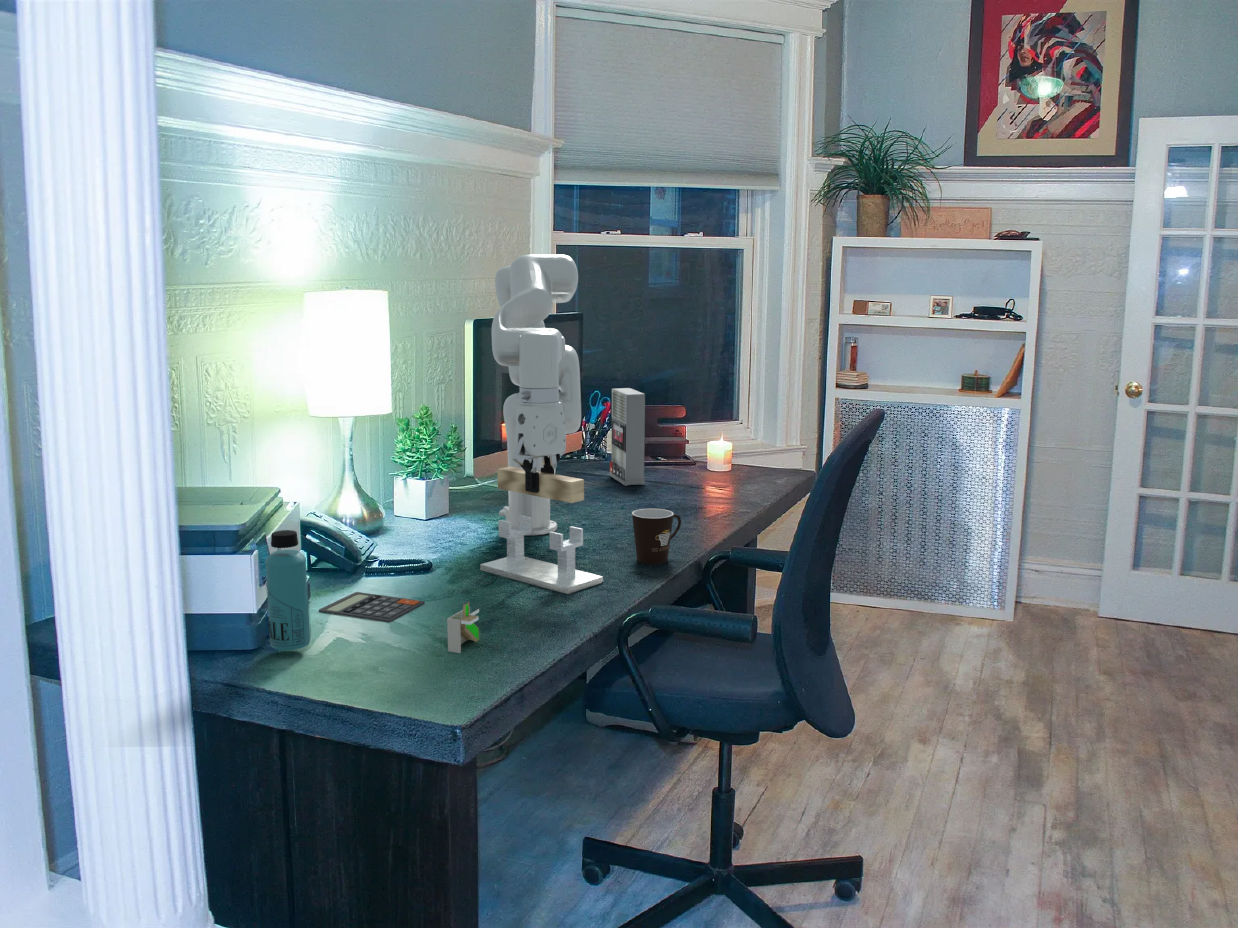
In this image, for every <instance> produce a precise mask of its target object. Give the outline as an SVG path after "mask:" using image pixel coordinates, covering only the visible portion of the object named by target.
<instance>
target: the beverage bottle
mask: <svg viewBox="0 0 1238 928" xmlns="http://www.w3.org/2000/svg"><path fill="white" fill-rule="evenodd" d="M270 537H271V538H270V539H271V540H270V547H272V548H276V549H281V550H276V551H273V552H272V553H270V554H269V556H268V557H266V559H265V560H264V564H265V571H266V572H265V573H266V574H265V575H266V581H265V586H266V587H265V588H266V589H265V590H266V597H267V614H268V617H267V622H268V623H267V627H268V635H269V638H268V639H269V644H270V646H271V648H273V649H275V650H279V651H293V650H299V649H303V648H306V647H307V646H308V645H309V644H310V641H311V637H312V636H311V635H312V633H311V632H312V628H311V624H310V623H311V620H310V619H311V618H310V617H311V615H310V612H311V610H310V606H309V597H308V582H307V581H308V579H307V576H308V575H307V558H306V556H305V555H304V554H303V553H302V552H300V551H299V550H296V549H289V548H294V547H296V546H298V545H299V538H298V533H297V531H295V530H290V529H283V530H276V531H274V532H272V533H271V536H270ZM286 548H287V549H286Z"/></svg>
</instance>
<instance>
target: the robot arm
mask: <svg viewBox="0 0 1238 928" xmlns="http://www.w3.org/2000/svg"><path fill="white" fill-rule="evenodd" d="M578 283H579V271H578V267H577V265H576V262H575V260H574V259H573V258H572V257H571V256H570V255H566V254H561V253H560V254H556V253H555V254H551V253H550V254H541V253H540V254H538V253H537V254H536V253H531V254H524V255H520V256H518V257H516V258H515V259H514V260H513V261H512V262H511V264H510V265H506V266H502V267H500V268H499V269H498V270H497V271H496V273H495V277H494V284H495V285H494V286H495V294H496V298H497V302H498V305H499V307H500V308H499V309H498V310H497V311H496V313H495V314H494V317H493V319H492V323H491V347H492V348H491V350H492V356H493V358H494V360H495V361H496V363H497V364H499V365H500V366H503V367H508V374H509V375H508V376H509V379H510V381H511V382H512V384H514V385H516V386H518V387H519V392H518V393H517V392H515V393H513V394H511V395H509V396H507V398H506V399H505V401H504V404H503V407H502V408H503V409H502V411H503V412H502V413H503V421H504V426H505V433H506V435H505V436H506V442H507V443H506V446H507V467H510V466H511V467H516V468H522V469H523V471H525V490H526V491H528V492H533V493H538V492H539V472H544V473H550V474H555V469H557V467H558V462H559V460H560V458H561V457H562V456H563V455H564V454H565V453H566V451H567V435H569V434H570V435H571V434H574V433H576V432H578V430H580V428H581V424H582V423H581V422H582V399H581V398H582V397H581V396H582V395H581V375H580V374H581V373H580V372H581V371H580V369H581V368H580V361H579V355H578V353H577V351H576V350H575V348H574V347H572V346H570V345H568V344H566V339H565V337H564V336H563V335H562V333H561V331H560V330H558V329H556V328H553V327H546V325H545V322H544V321H545V319H547V318H548V317H549V315H550V314H551V313H552V310H553V307H554V306H553V304H561V303H562V304H563V303H568V302H570V301H571V300H572V298H573V297H574V295H575V293H576V291H577V289H578V285H579V284H578ZM536 471H539V472H536ZM507 492H508V495H507V496H508V499H507V500H508V506H507V505H504V506H503V508H502V509H500V510H499V512H498V515H499V516H502V517H505V521H508V522H511V529H515V528H519V515H523V516H528V517H531V525H532V533H531V534H527V535H525V536H541V535H546V534H548V535H549V532H556V531H557V529H558V524H557V522H556V521H554V520H551V499H548V498H543V497H538V496H533V495H528V494H523V493H518V492H513V491H508V490H507Z"/></svg>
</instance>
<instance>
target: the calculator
mask: <svg viewBox="0 0 1238 928" xmlns="http://www.w3.org/2000/svg"><path fill="white" fill-rule="evenodd" d="M425 603H426V601H424V600H417V599H411V598H404V597H397V596H389V595H384V594H383V595H381V594H375V593H367V592H361V591H360V592H359V591H356V592H353V593H351V594H349V595H346V596H344V597H342V598H340V599H339V600H336V601H334V602H332V603H330V604H327V605H326V606H324V607H321V608H319V609H318V612H319V613H324V614H330V615H338V616H343V617H350V618H358V619H365V620H371V621H377V622H384V623H392V622H394V621H396V620H397V619H399V618H401V617H403V616H405V615H406V614H408V613H410V612H412V611H413V610H416V609H418V608H420V607H422V606H424V605H425Z"/></svg>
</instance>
